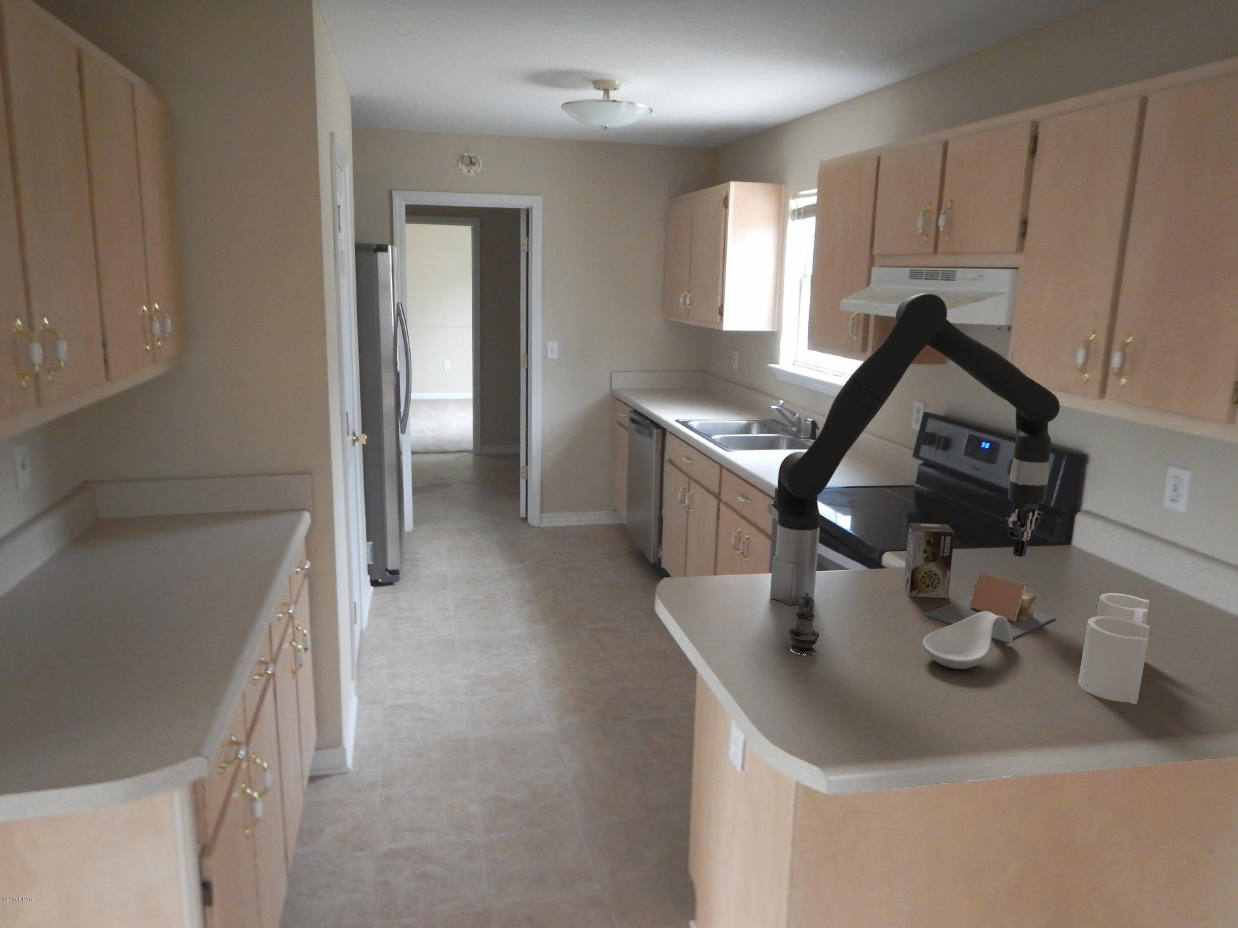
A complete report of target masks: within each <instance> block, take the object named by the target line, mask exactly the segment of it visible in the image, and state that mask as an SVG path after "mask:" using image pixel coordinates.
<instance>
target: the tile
mask: <svg viewBox="0 0 1238 928" xmlns="http://www.w3.org/2000/svg"><path fill="white" fill-rule="evenodd" d="M976 583H977V584H976V587H975V590H974V589H973V597H972V600H971V603H970V606H969V607H972V608H975V609H978V610H981V611H988V612H991V613H993V614H995V615H997V616H1003V617H1005V618H1006V619H1008V620H1011V621H1014V622H1015V621H1016V617H1017V614H1018V611H1019V608H1020V604H1021V601H1022V598H1023V595H1024V592H1026V587H1027V585H1023V584H1020V583H1017V582H1013V581H1010V580H1008V579H1004V578H1000V577H997V576H993V575H990V574H986V573H983V572H979V575H978V578H977V581H976Z"/></svg>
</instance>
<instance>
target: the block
mask: <svg viewBox="0 0 1238 928" xmlns="http://www.w3.org/2000/svg"><path fill="white" fill-rule="evenodd" d="M976 584H977V582H975V583H974V586H973V591H974V590H975V587H976ZM1036 598H1037V595H1036V594H1032V593H1029V592H1026V591H1024V595H1023V598H1022V601H1021V604H1020V608H1019V611H1018V614H1017V617H1016V619H1019V620H1022V621H1026V620H1028V619H1030V618H1032V617H1033V614H1034V611H1035V606H1036Z"/></svg>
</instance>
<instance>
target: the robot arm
mask: <svg viewBox="0 0 1238 928" xmlns="http://www.w3.org/2000/svg"><path fill="white" fill-rule="evenodd" d="M895 321H896V323H895V325H893V328H892V330H890V332H889V334H888V336H887V337H886V338H885V339H884V341H883V342H882V343H881V345H880V346H879V347H878V348H877V349H876V350H875V351H874V352H873V353H871V355H870V356H868V358H866V359H865V360H864V361H863V362H862V363H861V364H860V365H859V366H858V368H857V369H856V370H855V371H854V372H853V373H852V374H851V375H850V377H849V378H848V379H847V381H846V382H845V383H844V385H842V387H841V388H840V390H839V392H838V393H837V395H836V396H835V398H834V400H833V401H832V404H831V406H830V408H829V411H828V413H827V416H826V419H825V422H824V424H823V427H822V429H821V430H820V433H819V434H818V436H817V437H816V438H815V439H814V441H813V443H812V444H810V446H809V447H808V449H807V450H806V451H805V452H804V451H794V452H791V453H790V454H788V455H787V456H786V457H784V459H782V461H781V463H780V466H779V468H778V473H777V490H776V509H777V533H776V541H775V542H776V544H775V545H776V547H775V556H773V558H772V560H771V561H772V562H771V578H770V579H771V580H770V589H769V590H770V592H769V598H772V599H774V600H777V601H779V602H782V603H783V604H787V605H790V606H792V605H799V600H800V598H802V597H804V596H806V595H805V594H806V593H808V594H809V595H808V596H809V597H811V598H812V599H813V600H815V599H814V598H815V591H816V590H815V589H816V588H815V587H816V577H817V575H816V574H817V563H818V553H819V552H818V551H819V539H820V527H821V513H820V509H819V505H818V498H819V495H820V494H821V493H823V492H824V490H825V488H826V487H827V486H828V484H829V482H830V481H831V479H832V478H833V476H834V474H835V472H836V470H837V469H838V467H839V465H840V464H841V462H842V461H843V459H844V458H845V456H846V454H847V453H848V451H849V450H850V449H851V448H852V446H853V445H854V444H855V443H856V442H857V440H858V439H859V437H860V436H861V435H862V434H863V432H864V431H865V429H866V428H868V426H869V424H870V423H871V422H872V420H873V419H875V417H876V415H877V414H878V412H880V410H881V409H882V407H883V406H884V405H885V403H886V402H887V400H888V399H889V397H890V396H891V394H892V393H893V391H894V390H895V389H896V387H897V386H898V384H899V382H900V381H901V380H902V378H903V377H904V375H905V373H906V372H907V370H908V369H909V367H910V366H911V364H912V363H913V361H914V360H915V359H916V357H917V356H918V355H919V354H921V352H922V351H923V350H924V349H925V348H926V347H927V346H928V347H929V348H931V349H934V350H935V351H937V352H938V353H940V354H942V355H943V356H944V357H946V358H947V359H949V360H950V361H952V362H953V363H954V364H955V365H957V366H958V367H960V368H961V369H962V370H963V371H965V372H966V373H967V374H968V375H969V376H971V377H972V378H973V379H975V380H976V381H977V382H979V383H980V384H981V385H982V386H984V387H985V388H986V389H988V390H989V391H990V392H992V393H993V394H994V395H996V396H998V397H999V398H1002V399H1004V400H1005V401H1007V402H1008V404H1010V405H1012V406H1013V407H1014V408H1015V431H1016V432H1015V433H1016V439H1015V443H1014V451H1013V459H1012V463H1011V467H1010V475H1009V483H1008V490H1007V491H1008V492H1007V498H1008V500H1010V501H1012V502H1013V505H1012V509H1011V515H1010V516H1009V517H1006V518H1005V519H1004V525H1005V528H1006V530H1007V533H1008V536H1009V538H1012V539H1014V543H1013V551H1012V552H1013V553H1012V554H1013V555H1014V556H1016V557H1019V558H1023V557H1025V556H1026V555H1027V549H1028V542H1029V540H1030V539H1031V537H1033V536H1034V535H1035V533H1036V531H1037V529H1038V526H1039V525H1040V522H1041V519H1042V518H1043V515H1044V513H1043V511H1039V505H1042V504H1044V503H1045V502H1046V499H1047V497H1046V496H1047V490H1048V489H1047V488H1048V484H1049V483H1048V482H1049V481H1048V480H1049V474H1050V456H1051V449H1052V439H1051V436H1050V434H1049V431H1048V430H1049V423H1050V422H1052V421H1053V420H1055V419H1056V418H1057V416H1058V415H1059V413H1060V408H1061V404H1060V401H1059V398H1058V397H1057V395H1056V394H1054V393H1053V392H1052V391H1050V390H1049V389H1047V388H1046V387H1045V386H1043V385H1042V384H1040V383H1038V382H1037V381H1036V380H1034V379H1033V378H1031V377H1029V376H1027V374H1025V373H1024V372H1023V371H1021V370H1020V368H1018V367H1017V366H1016V365H1015V364H1014V363H1012V362H1011V361H1009V360H1008V359H1007V358H1005V356H1002V355H1001V354H1000V353H998V352H997V351H995V350H993V349H992V348H990V347H989V346H987V345H985V344H983V343H982V342H979V341H978V340H976V339H974V338H972V337H971V336H969V335H967V334H966V333H965V332H963V331H962V330H960V329H959V328H957V327H956V326H955V325H954V324H953V323H951V322H950V321H949V320H948V309H947V305H946V303H945V301H944V300H943V298H941V297H940V296H939V295H937V294H933V293H930V292H929V293H928V292H926V293H924V292H923V293H918V294H915V295H911V296H910V297H907V298H905V299H904V300H903V301H902V302H901V303H900V304H899V306H898V307H897V309H896V313H895Z"/></svg>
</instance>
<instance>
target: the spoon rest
mask: <svg viewBox="0 0 1238 928" xmlns="http://www.w3.org/2000/svg"><path fill="white" fill-rule="evenodd" d="M991 637H994V638H996V639H999V640H1002V641H1005V642H1006V643H1011V642H1013V639H1012V630H1011V626H1010V624H1009V622H1008V620H1007V619H1006V618H1005V617H1003V616H997V615H995V614H993V613H991V612H988V611H983V612H980V613H977V614H975V615H973V616H971V617H969V618H966V619H964V620H962V621H960V622H957V623H955V624H952V625H951V624H949V625H947V626H945V627H942V628H940V629H937V630H935V631H933V632H930V633H929V634H927V635H926V636H925V637H924V638H923V640H922V646H923V649H924V651H925V652H926V654H927V655H928V656H929V657H930V658H931V659H932V660H933V661H934V662H935V663H937V664H940V665H941V666H944V667H947V668H950V669H953V670H966V669H970V668H974V667H975V666H977V665H979V664H981V663H982V662H983V661H984V660H985V659H986V657H987V656H988V654H989V652H990V650H991V645H992V639H991Z"/></svg>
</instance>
